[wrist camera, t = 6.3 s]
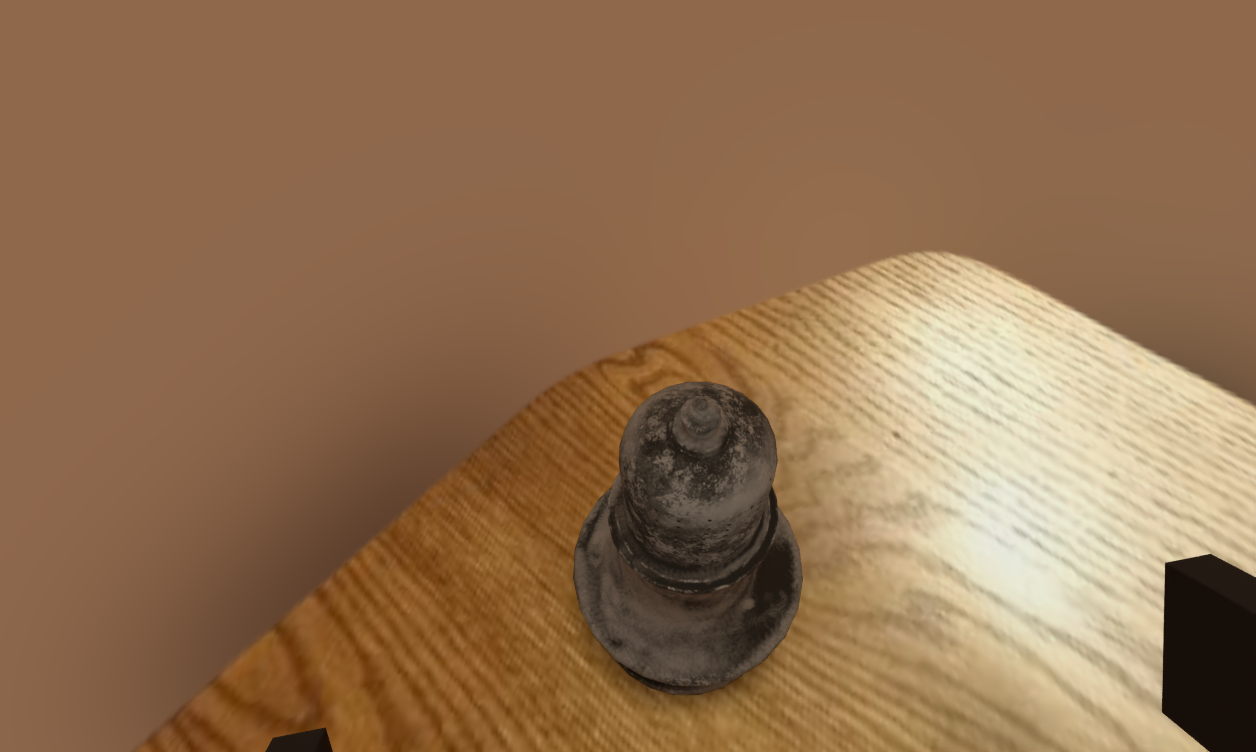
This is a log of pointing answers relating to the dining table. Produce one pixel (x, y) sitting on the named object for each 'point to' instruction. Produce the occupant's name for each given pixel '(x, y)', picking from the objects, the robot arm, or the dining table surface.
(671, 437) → the grey chess piece
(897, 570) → the dining table surface
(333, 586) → the dining table surface
